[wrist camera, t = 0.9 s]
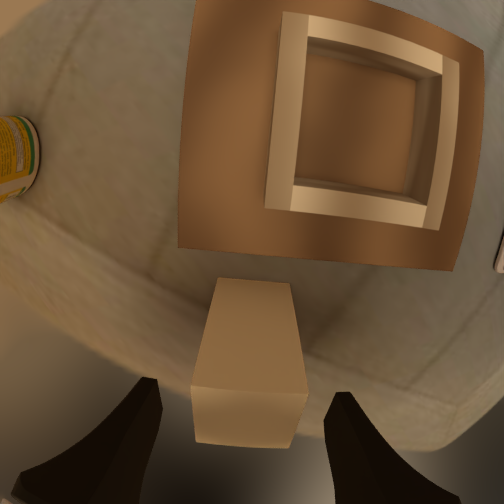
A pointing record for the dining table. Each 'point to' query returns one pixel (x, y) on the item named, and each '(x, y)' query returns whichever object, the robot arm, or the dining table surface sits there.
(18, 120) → the supplement bottle
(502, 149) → the dining table surface
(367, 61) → the socket board
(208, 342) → the peg
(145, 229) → the dining table surface
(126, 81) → the dining table surface
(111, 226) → the dining table surface
